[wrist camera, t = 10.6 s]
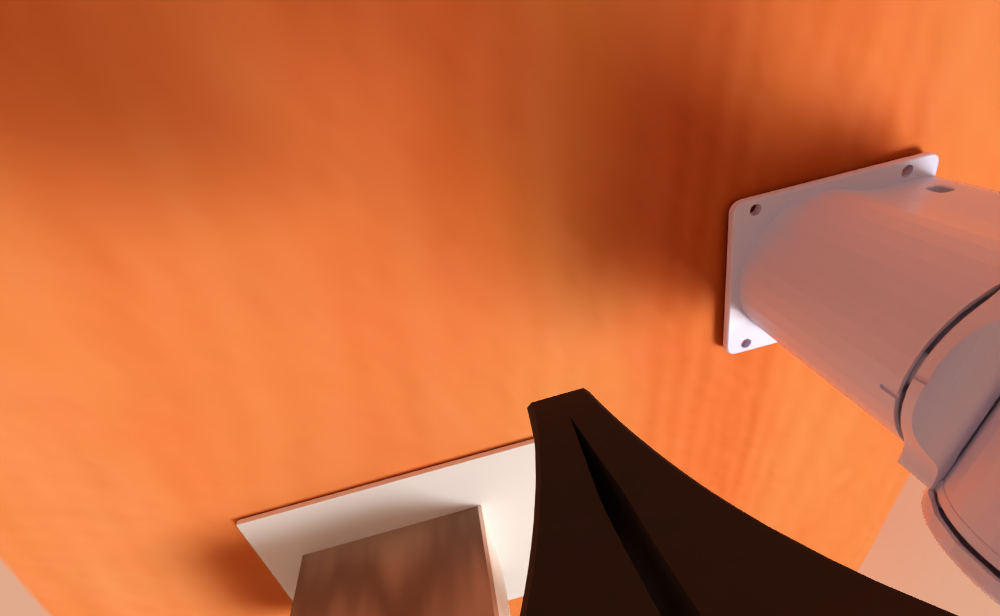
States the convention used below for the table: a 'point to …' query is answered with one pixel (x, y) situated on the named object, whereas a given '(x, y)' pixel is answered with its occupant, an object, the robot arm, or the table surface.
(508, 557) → the mat
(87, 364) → the table surface
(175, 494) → the table surface
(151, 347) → the table surface
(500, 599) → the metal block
